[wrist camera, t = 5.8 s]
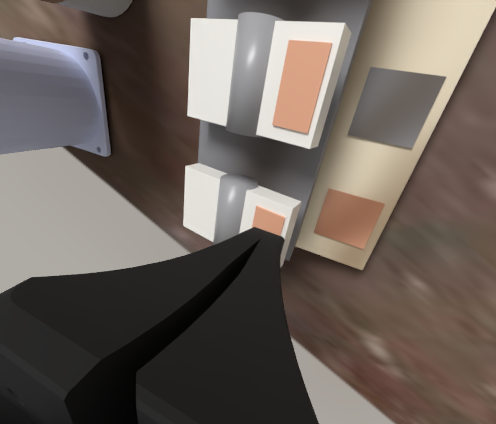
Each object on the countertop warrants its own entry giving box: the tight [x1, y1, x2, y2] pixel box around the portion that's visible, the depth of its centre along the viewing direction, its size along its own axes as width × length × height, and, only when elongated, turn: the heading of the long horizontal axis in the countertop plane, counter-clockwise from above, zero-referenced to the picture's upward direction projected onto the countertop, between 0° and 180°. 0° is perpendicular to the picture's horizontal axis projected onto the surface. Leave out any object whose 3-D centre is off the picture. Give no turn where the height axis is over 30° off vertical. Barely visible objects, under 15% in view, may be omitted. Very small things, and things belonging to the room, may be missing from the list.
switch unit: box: [198, 0, 496, 270], centre depth 12 cm, size 12×18×4 cm, turn 170°
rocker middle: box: [187, 12, 351, 149], centre depth 9 cm, size 6×4×2 cm, turn 79°
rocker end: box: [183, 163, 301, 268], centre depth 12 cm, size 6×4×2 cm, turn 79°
